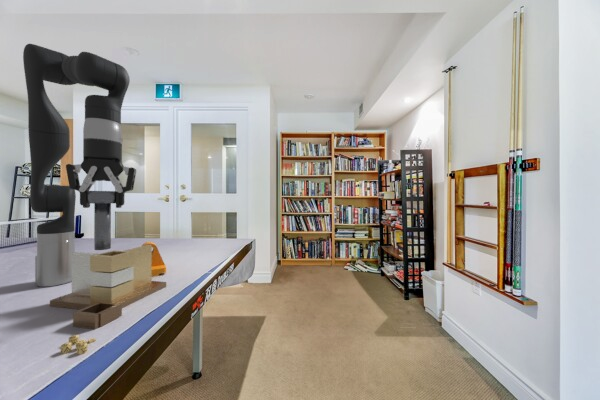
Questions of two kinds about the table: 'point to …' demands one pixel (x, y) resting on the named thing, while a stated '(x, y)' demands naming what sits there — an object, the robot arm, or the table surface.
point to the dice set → (80, 345)
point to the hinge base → (112, 288)
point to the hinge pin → (102, 217)
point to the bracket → (156, 261)
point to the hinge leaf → (95, 274)
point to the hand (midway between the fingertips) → (103, 207)
